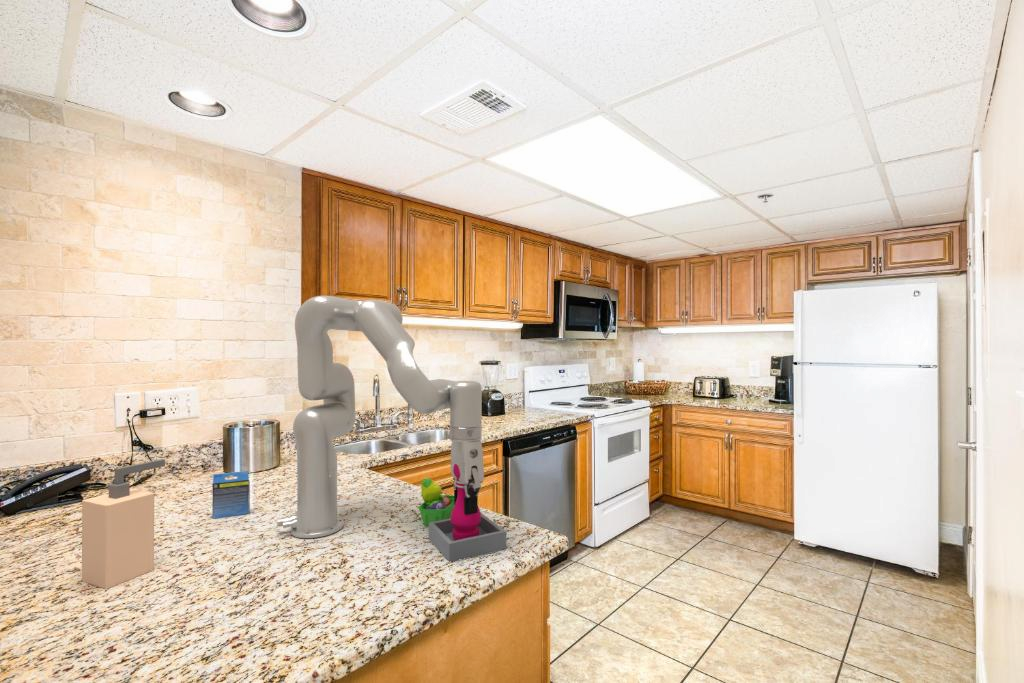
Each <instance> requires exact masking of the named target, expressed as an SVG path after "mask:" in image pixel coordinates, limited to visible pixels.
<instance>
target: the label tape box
mask: <svg viewBox="0 0 1024 683" xmlns="http://www.w3.org/2000/svg"><path fill="white" fill-rule="evenodd" d="M249 474H250V473H249V470H246V471H244V470H243V471H233V472H223V473H213V474H212V503H211V504H212V510H211V511H212V512H211V513H212V517H211V518H212V519H213V520H214V519H215V520H216V519H224V518H228V517H235V516H244V515H249V514H250V508H251V505H250V504H251V502H250V501H251V500H250V499H251V486H250V479H249V477H250V475H249ZM231 476H232V477H236V478H230V477H231ZM226 478H227V479H226ZM229 478H230V479H229Z"/></svg>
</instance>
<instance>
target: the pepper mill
mask: <svg viewBox="0 0 1024 683" xmlns="http://www.w3.org/2000/svg"><path fill="white" fill-rule="evenodd" d="M453 473H454V475H455V476H456V478H457V479H456V480H455V482H456V484H455V485H456V487H457V490H458V494H457V500H456V503H455V505H454V507H453V510H452V513H451V518H450V519H451V523H452V525H453V526H454V528H453V539H455V540H461V539H465V538H470V537H474V536H479V528H478V527H477V526H478V525H479V523H480V521H481V513H482V512H481V510H480V508H479V506H478V512H477V513H475V514H469V515H465V514H464V497H466V495H465V486H464V484H463V483H461V482H460V481H459V478H460V470H459V467H458V465H457V464H455V465H454V468H453ZM468 482H469V483H473V481H472V480H470V481H468ZM472 487H473V485H472V486H469V490H470V488H472Z"/></svg>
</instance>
